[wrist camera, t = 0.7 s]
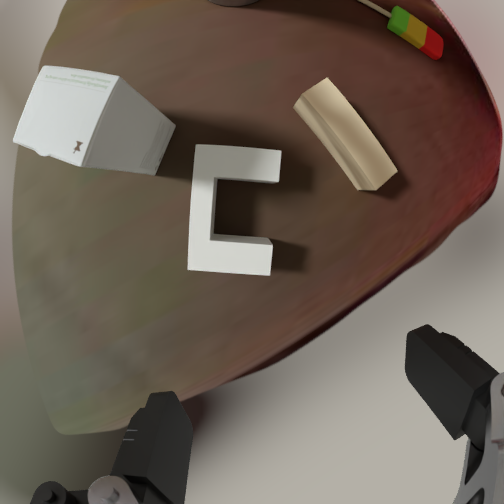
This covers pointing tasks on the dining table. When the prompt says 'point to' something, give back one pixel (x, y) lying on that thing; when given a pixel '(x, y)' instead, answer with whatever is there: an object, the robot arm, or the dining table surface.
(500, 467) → the robot arm
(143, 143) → the skincare box
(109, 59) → the dining table surface
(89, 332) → the dining table surface
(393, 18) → the popsicle
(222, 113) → the dining table surface
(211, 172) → the end cap
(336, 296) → the dining table surface
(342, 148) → the beige wooden block
